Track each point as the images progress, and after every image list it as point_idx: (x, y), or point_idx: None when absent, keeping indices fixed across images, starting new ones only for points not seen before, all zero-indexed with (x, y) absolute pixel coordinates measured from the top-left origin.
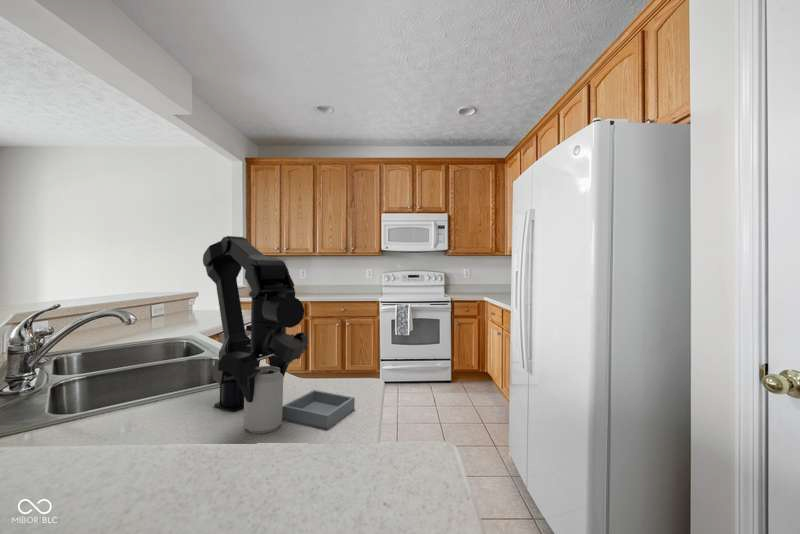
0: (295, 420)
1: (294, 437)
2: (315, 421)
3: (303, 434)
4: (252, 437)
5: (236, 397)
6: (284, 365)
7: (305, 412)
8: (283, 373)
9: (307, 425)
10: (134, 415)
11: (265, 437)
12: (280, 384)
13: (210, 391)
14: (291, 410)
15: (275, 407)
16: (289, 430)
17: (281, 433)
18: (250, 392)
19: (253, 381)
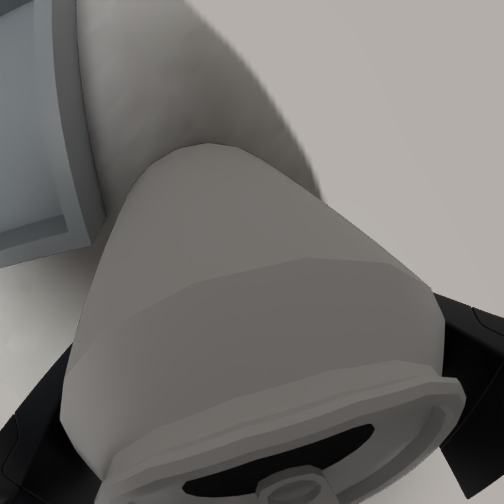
0: (86, 140)
1: (202, 29)
2: (67, 21)
3: (156, 18)
4: (296, 181)
5: None
6: (9, 501)
7: (57, 79)
8: (27, 422)
9: (78, 70)
10: None
11: (270, 135)
12: (198, 236)
13: None
14: (77, 178)
15: (233, 162)
16: (160, 98)
17: (204, 105)
18: (436, 295)
19: (495, 337)
